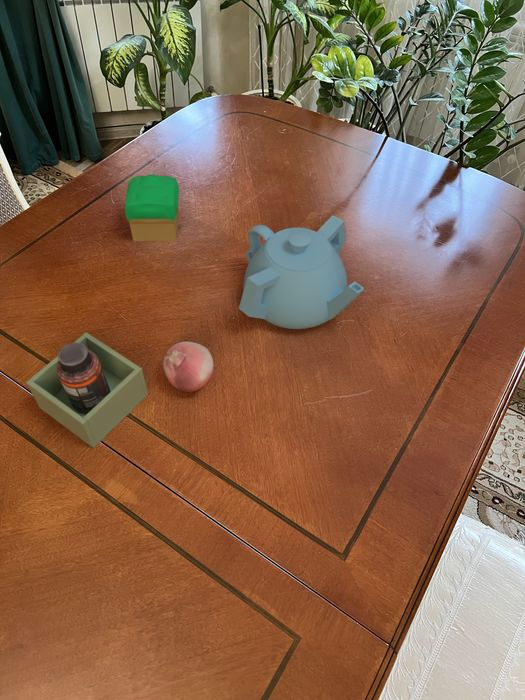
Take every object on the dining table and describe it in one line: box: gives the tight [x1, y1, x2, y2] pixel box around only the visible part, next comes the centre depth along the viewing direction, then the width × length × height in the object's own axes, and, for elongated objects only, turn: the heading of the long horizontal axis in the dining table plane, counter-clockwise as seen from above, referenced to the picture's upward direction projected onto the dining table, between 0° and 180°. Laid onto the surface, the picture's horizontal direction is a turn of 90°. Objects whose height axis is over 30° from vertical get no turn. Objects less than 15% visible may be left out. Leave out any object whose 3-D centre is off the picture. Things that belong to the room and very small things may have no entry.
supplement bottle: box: [57, 342, 111, 414], centre depth 82 cm, size 6×6×11 cm
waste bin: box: [25, 331, 149, 449], centre depth 84 cm, size 12×12×7 cm
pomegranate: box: [162, 341, 215, 393], centre depth 87 cm, size 8×8×7 cm
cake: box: [124, 173, 180, 242], centre depth 108 cm, size 10×11×10 cm
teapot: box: [238, 214, 365, 330], centre depth 96 cm, size 19×19×14 cm
